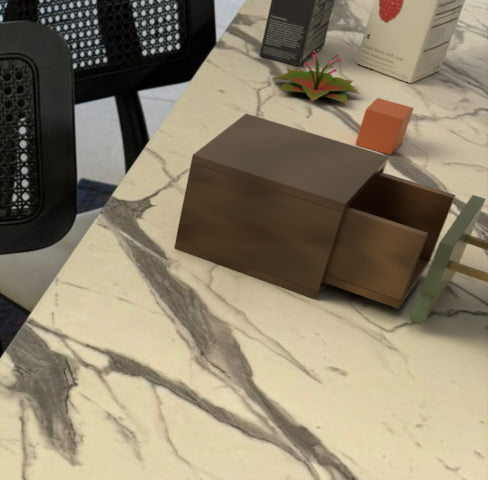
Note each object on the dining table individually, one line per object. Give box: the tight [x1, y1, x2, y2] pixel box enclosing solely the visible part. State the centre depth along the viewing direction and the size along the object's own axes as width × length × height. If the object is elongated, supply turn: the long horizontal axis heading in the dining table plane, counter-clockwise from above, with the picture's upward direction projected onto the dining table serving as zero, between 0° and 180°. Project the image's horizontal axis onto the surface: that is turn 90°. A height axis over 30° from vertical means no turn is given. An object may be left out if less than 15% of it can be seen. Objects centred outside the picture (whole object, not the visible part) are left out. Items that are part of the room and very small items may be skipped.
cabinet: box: [173, 113, 389, 300], centre depth 98 cm, size 15×13×10 cm
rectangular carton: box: [355, 0, 466, 84], centre depth 138 cm, size 9×9×15 cm
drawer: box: [323, 172, 488, 325], centre depth 93 cm, size 19×11×8 cm, turn 57°
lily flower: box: [273, 51, 363, 105], centre depth 132 cm, size 12×12×5 cm
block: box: [355, 97, 414, 156], centre depth 121 cm, size 4×4×4 cm
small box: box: [259, 0, 336, 67], centre depth 141 cm, size 11×6×10 cm, turn 149°
